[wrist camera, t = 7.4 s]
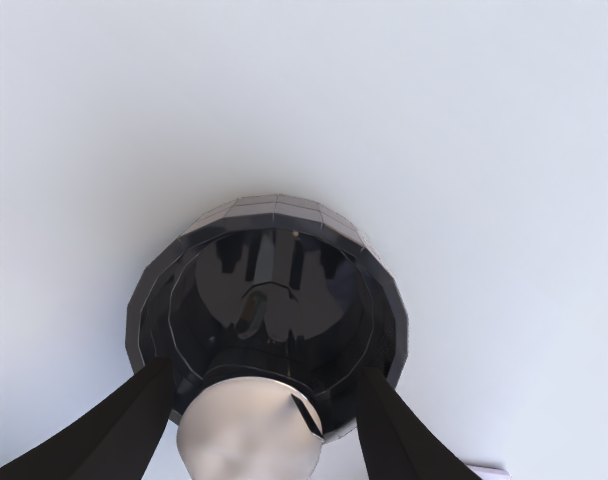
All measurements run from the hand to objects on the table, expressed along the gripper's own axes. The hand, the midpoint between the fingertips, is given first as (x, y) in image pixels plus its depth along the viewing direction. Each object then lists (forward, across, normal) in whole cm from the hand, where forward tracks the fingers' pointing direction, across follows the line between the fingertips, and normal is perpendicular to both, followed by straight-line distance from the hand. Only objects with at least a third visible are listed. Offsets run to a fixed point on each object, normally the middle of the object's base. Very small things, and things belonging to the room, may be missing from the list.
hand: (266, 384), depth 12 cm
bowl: (+6, 0, 0) cm, 6 cm away
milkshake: (+6, 0, 0) cm, 6 cm away
